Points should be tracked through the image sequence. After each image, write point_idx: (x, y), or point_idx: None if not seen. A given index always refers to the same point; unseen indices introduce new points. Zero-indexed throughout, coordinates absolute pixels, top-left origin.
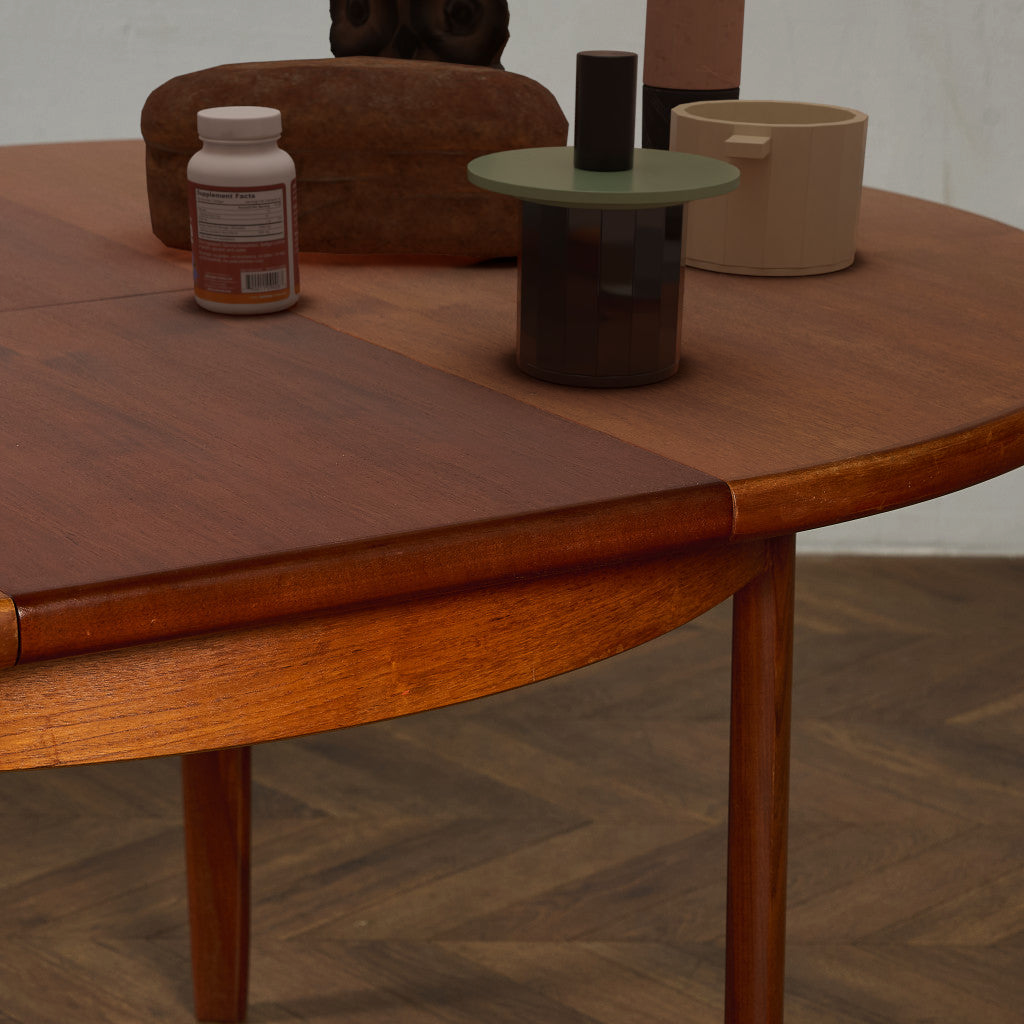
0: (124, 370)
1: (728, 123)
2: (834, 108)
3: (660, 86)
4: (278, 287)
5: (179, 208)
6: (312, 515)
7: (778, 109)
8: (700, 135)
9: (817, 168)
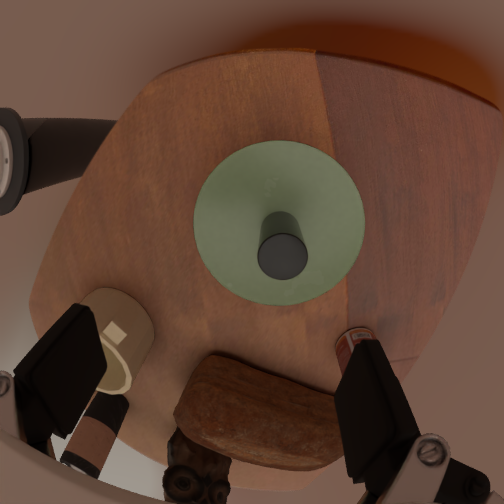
0: (432, 278)
1: (116, 350)
2: None
3: (111, 430)
4: (356, 333)
5: None
6: (446, 108)
7: None
8: (129, 358)
9: None
